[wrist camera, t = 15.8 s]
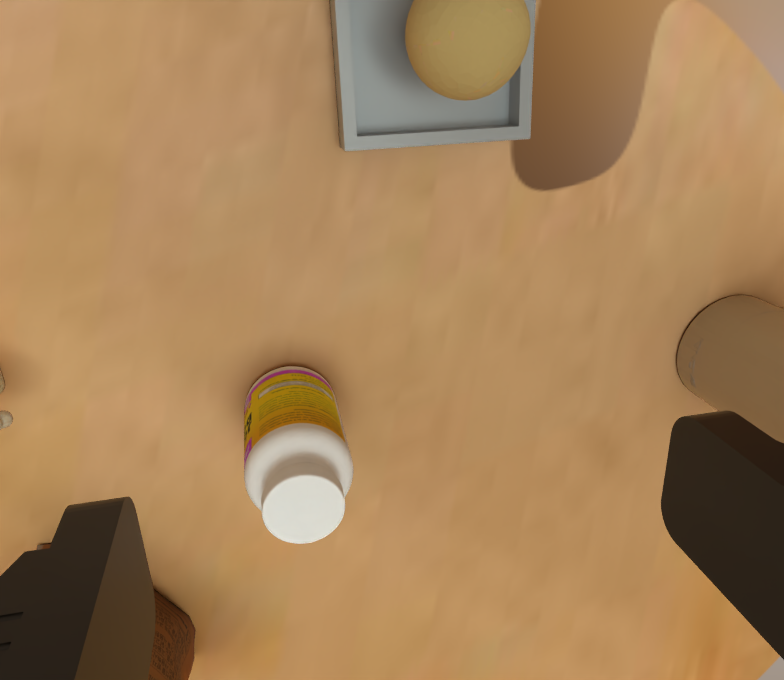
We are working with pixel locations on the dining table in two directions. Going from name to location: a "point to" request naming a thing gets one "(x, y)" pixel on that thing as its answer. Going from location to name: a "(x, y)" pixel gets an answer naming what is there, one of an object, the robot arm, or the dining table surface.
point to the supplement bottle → (296, 454)
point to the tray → (412, 87)
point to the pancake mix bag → (169, 640)
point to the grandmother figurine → (4, 417)
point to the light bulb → (467, 44)
